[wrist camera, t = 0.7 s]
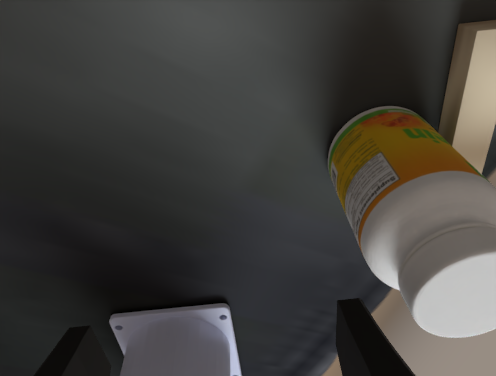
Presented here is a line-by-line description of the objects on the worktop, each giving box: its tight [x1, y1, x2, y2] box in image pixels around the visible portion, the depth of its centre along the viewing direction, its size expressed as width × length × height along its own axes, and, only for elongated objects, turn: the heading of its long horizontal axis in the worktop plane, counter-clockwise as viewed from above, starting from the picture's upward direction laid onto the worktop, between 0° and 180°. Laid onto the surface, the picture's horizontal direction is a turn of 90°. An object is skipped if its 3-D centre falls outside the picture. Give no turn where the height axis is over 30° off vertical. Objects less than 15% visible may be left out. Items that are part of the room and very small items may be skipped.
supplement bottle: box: [328, 106, 496, 338], centre depth 16 cm, size 5×5×10 cm
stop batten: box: [438, 20, 496, 174], centre depth 20 cm, size 13×2×2 cm, turn 5°
